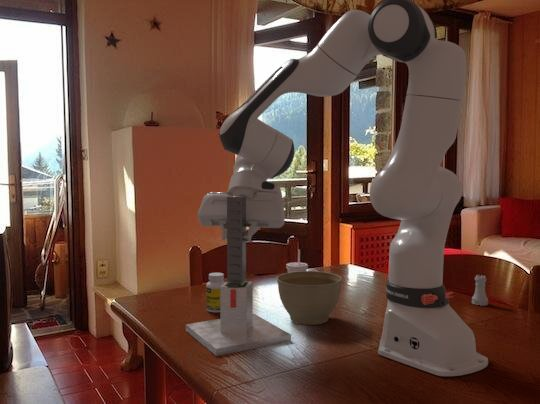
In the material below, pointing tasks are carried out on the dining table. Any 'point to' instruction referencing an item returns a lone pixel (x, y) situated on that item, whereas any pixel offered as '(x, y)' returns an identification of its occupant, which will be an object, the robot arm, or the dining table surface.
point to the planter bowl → (309, 295)
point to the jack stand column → (236, 240)
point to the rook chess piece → (480, 291)
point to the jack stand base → (236, 324)
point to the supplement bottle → (214, 292)
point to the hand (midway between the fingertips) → (235, 239)
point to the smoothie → (296, 265)
